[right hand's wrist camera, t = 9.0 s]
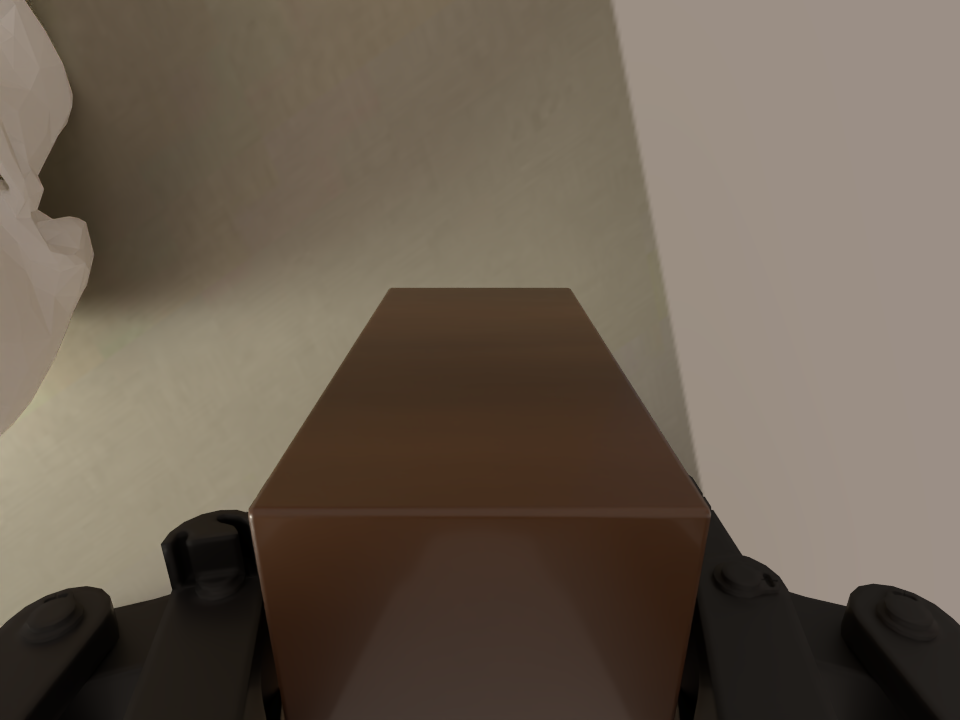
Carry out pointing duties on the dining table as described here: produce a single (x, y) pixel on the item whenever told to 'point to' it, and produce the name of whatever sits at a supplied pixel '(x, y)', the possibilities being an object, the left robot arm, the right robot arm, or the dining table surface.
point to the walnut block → (479, 524)
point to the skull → (32, 212)
